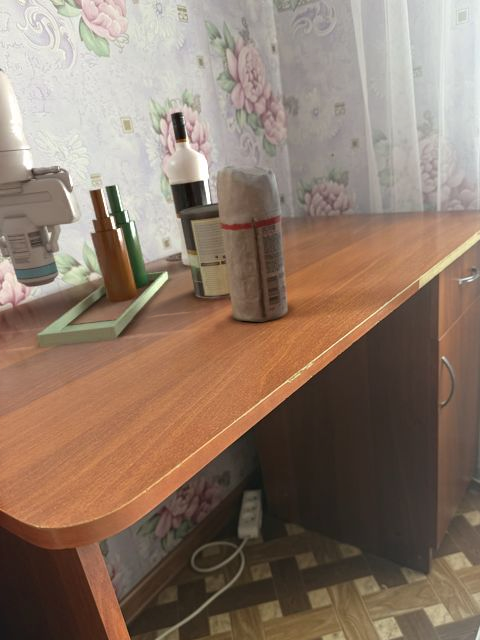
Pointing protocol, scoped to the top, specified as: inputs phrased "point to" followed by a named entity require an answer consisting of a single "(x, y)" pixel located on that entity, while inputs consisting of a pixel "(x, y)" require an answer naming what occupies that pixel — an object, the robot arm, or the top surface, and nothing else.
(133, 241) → the green bottle
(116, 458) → the top surface
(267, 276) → the spray can
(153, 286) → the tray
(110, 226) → the amber bottle
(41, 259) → the beverage can
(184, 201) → the vodka
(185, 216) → the coffee can
